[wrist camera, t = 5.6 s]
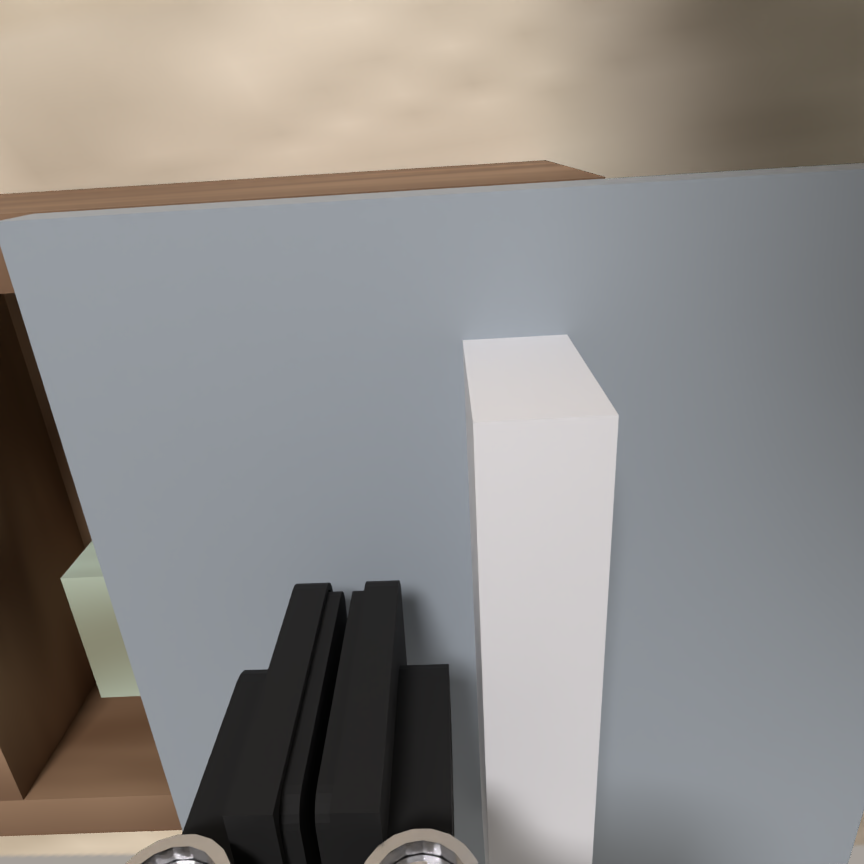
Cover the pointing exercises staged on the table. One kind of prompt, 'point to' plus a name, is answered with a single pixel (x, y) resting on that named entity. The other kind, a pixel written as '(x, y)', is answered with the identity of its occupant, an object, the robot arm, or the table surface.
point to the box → (77, 561)
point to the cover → (498, 481)
